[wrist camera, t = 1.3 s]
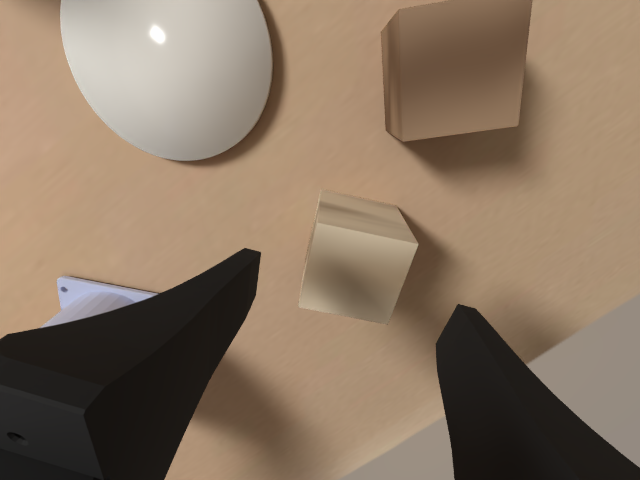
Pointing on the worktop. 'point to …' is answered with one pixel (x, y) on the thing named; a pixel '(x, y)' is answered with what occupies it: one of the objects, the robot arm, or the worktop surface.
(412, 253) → the beech block
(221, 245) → the worktop surface
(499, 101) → the walnut block
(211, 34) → the coaster
